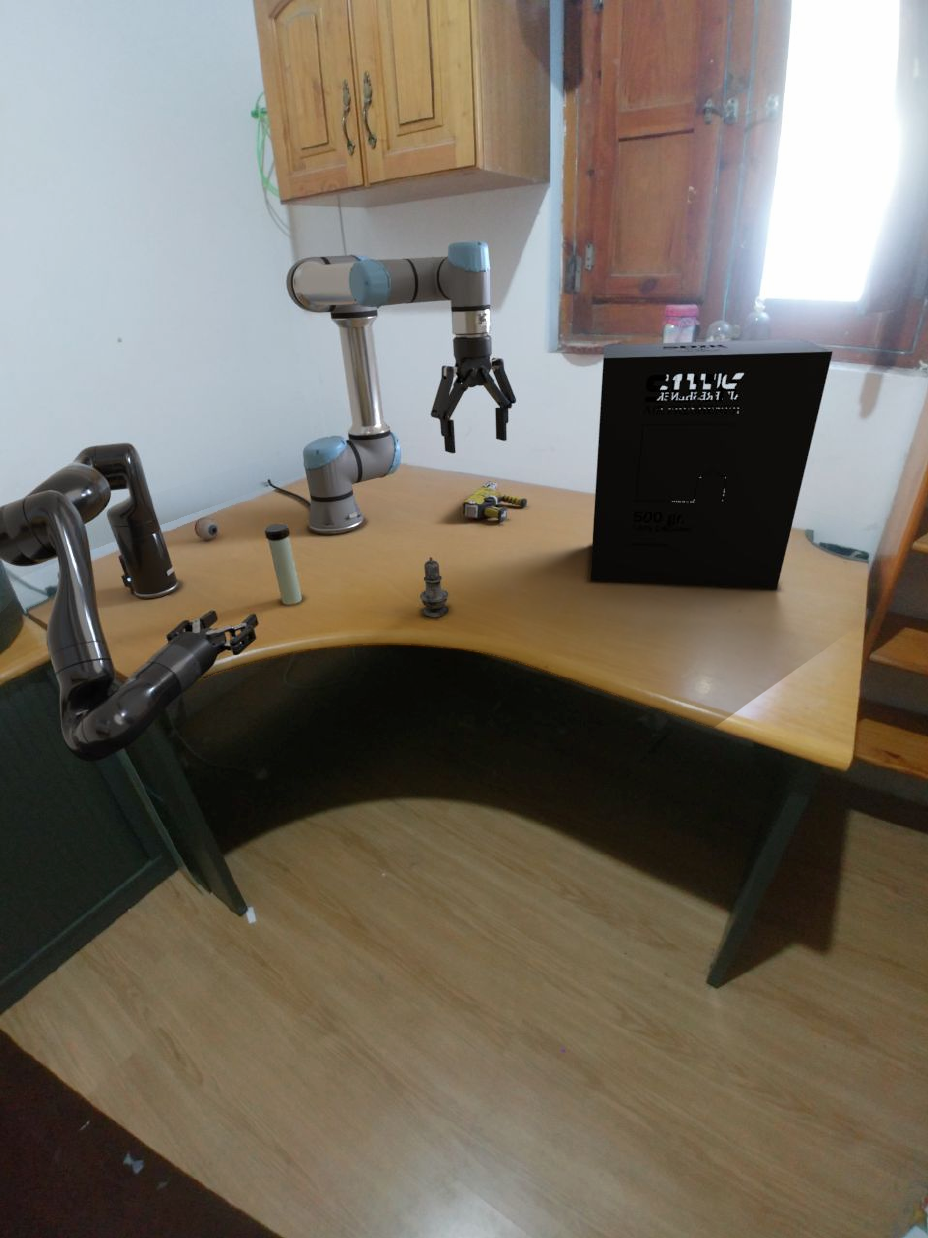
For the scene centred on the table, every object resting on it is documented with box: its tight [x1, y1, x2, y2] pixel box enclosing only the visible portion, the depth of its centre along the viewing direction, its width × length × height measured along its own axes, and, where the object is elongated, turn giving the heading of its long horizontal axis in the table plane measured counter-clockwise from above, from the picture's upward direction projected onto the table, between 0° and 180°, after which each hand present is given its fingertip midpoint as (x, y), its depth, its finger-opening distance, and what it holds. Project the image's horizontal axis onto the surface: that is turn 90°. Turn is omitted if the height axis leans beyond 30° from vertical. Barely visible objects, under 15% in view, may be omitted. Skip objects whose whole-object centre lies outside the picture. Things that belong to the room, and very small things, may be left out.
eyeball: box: [194, 516, 220, 541], centre depth 163 cm, size 6×6×6 cm
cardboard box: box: [589, 338, 834, 590], centre depth 125 cm, size 38×20×45 cm, turn 78°
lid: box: [264, 523, 290, 541], centre depth 123 cm, size 5×5×2 cm
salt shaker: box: [419, 556, 450, 618], centre depth 120 cm, size 6×6×12 cm
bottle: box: [267, 535, 303, 606], centre depth 127 cm, size 4×4×16 cm
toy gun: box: [461, 480, 528, 523], centre depth 173 cm, size 5×24×15 cm
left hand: (234, 616), depth 111 cm, fingers open, 8 cm apart
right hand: (476, 445), depth 127 cm, fingers open, 13 cm apart
